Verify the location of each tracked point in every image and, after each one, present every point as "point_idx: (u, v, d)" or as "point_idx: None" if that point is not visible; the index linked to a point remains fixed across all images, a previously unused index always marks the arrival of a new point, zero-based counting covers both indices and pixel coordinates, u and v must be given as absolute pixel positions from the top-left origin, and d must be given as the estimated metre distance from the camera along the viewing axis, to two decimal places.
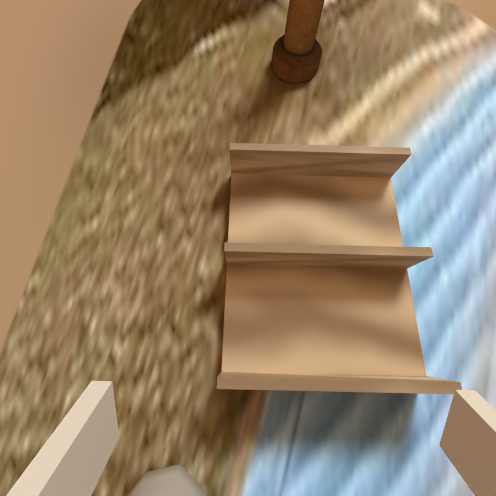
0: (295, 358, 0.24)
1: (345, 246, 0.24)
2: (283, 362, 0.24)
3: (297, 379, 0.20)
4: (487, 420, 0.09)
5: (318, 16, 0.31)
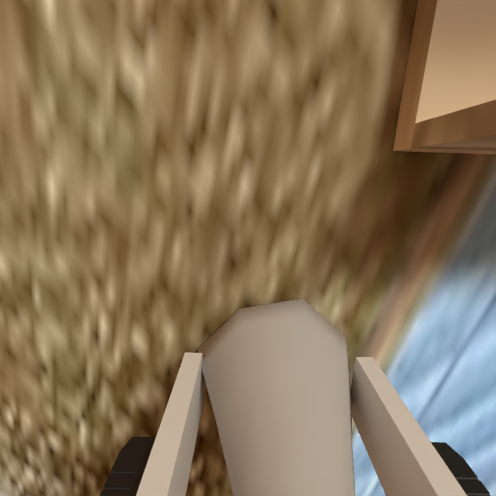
0: None
1: None
2: None
3: None
4: (371, 378, 0.11)
5: None
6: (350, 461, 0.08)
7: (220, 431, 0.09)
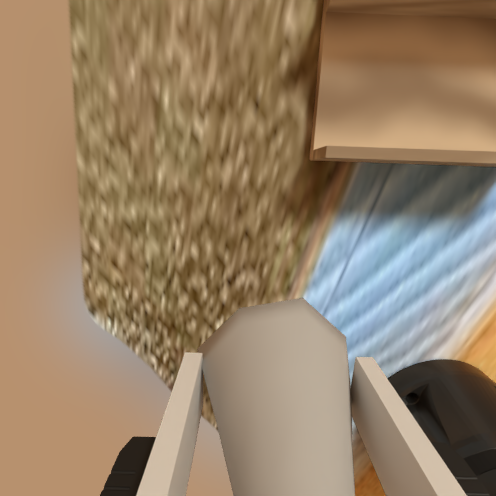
0: (391, 137, 0.23)
1: None
2: (378, 141, 0.23)
3: (409, 149, 0.19)
4: (371, 378, 0.11)
5: None
6: (350, 460, 0.08)
7: (220, 430, 0.09)
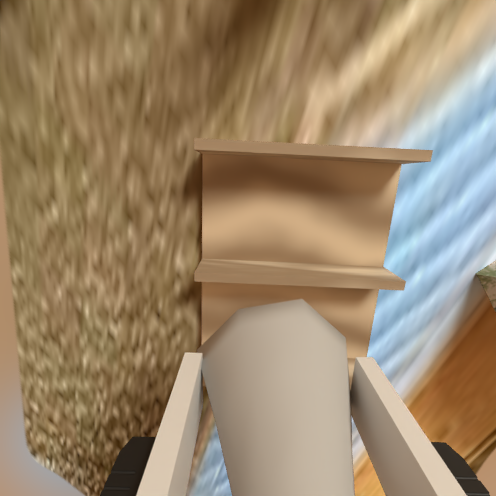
0: None
1: (318, 278, 0.23)
2: None
3: None
4: (371, 378, 0.11)
5: None
6: (350, 461, 0.08)
7: (219, 431, 0.09)
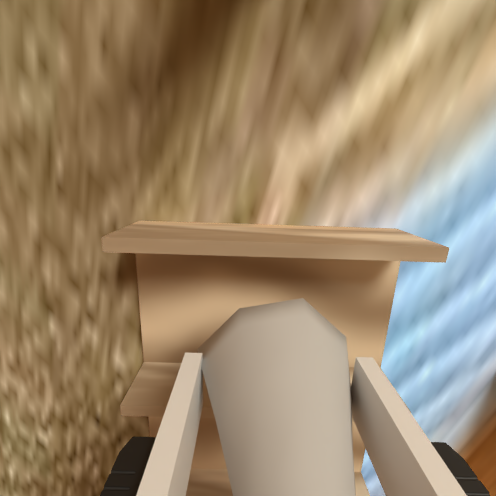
0: None
1: None
2: (215, 461, 0.23)
3: None
4: (371, 378, 0.11)
5: None
6: (351, 461, 0.08)
7: (220, 431, 0.09)
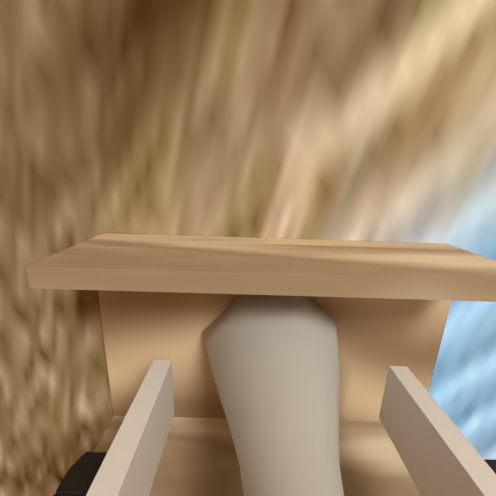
0: None
1: None
2: None
3: None
4: (409, 389, 0.10)
5: None
6: (335, 419, 0.09)
7: (224, 397, 0.10)
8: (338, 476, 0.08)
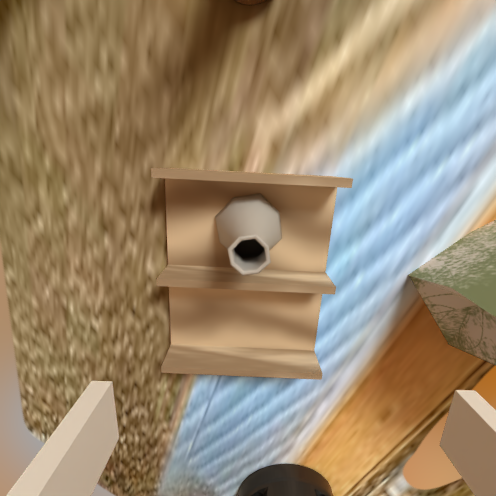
0: (223, 338, 0.34)
1: (261, 284, 0.27)
2: (214, 340, 0.34)
3: (214, 369, 0.30)
4: (487, 420, 0.09)
5: None
6: (267, 229, 0.24)
7: (225, 227, 0.25)
8: (263, 235, 0.23)
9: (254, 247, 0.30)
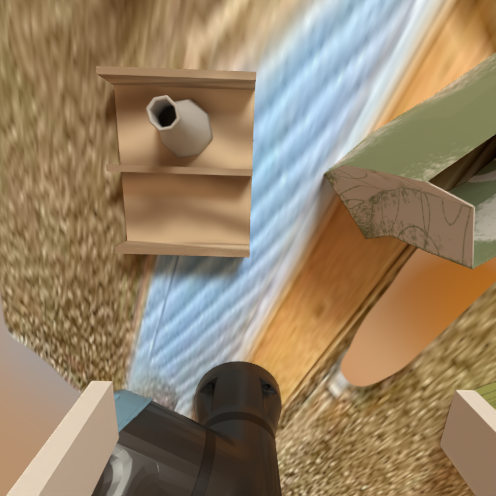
0: (171, 233, 0.40)
1: (191, 168, 0.34)
2: (164, 235, 0.40)
3: (158, 249, 0.36)
4: (487, 420, 0.09)
5: None
6: (189, 113, 0.31)
7: None
8: (182, 111, 0.29)
9: None
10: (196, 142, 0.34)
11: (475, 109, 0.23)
